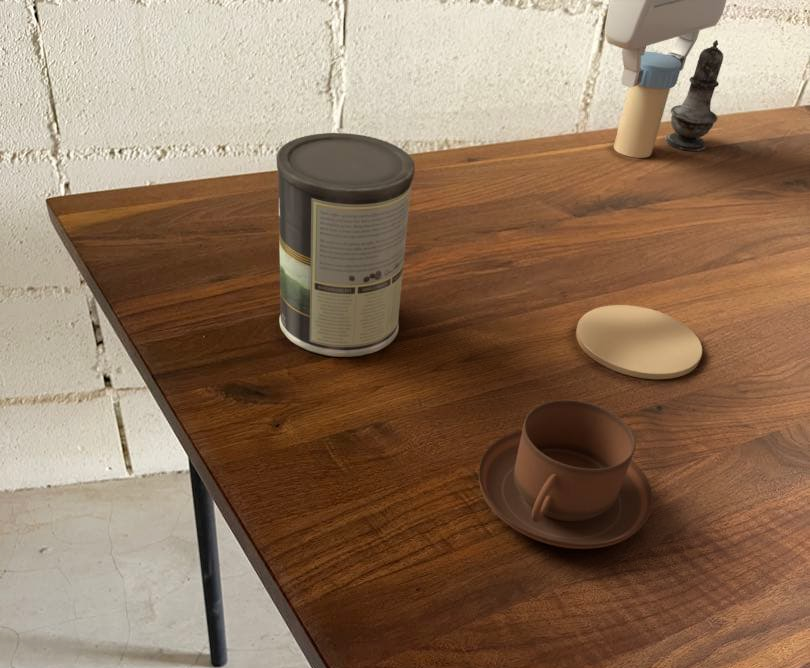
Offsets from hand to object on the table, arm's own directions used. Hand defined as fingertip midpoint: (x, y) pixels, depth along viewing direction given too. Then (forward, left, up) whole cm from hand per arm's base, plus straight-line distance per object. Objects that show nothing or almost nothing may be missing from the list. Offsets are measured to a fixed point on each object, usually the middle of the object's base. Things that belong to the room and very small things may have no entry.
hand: (652, 77), depth 104 cm
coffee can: (-2, +57, -9) cm, 58 cm away
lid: (0, 0, +2) cm, 2 cm away
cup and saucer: (-28, +63, -8) cm, 70 cm away
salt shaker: (-3, -8, -9) cm, 12 cm away
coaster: (-22, +40, -8) cm, 47 cm away
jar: (0, 0, -8) cm, 8 cm away
